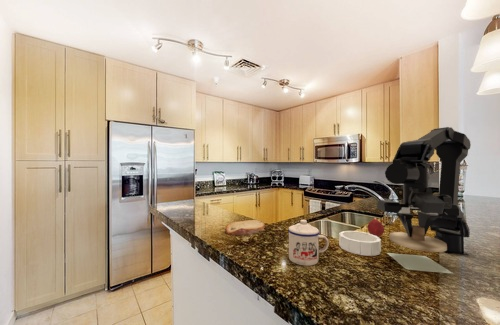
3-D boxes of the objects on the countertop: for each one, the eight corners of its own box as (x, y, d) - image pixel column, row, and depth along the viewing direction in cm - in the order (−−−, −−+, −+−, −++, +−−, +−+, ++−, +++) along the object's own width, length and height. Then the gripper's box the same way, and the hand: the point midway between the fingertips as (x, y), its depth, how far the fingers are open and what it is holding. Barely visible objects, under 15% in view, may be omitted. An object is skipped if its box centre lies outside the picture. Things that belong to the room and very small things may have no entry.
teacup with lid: (290, 266, 57) (290, 223, 57) (285, 252, 66) (286, 216, 66) (334, 267, 56) (334, 225, 57) (323, 254, 66) (323, 217, 66)
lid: (426, 237, 65) (426, 222, 65) (460, 254, 52) (460, 235, 52) (381, 234, 67) (381, 219, 67) (403, 249, 54) (403, 231, 55)
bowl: (371, 244, 75) (371, 232, 75) (387, 258, 63) (387, 243, 63) (336, 241, 77) (336, 229, 77) (345, 255, 65) (345, 240, 65)
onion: (387, 240, 80) (387, 219, 80) (372, 240, 80) (372, 219, 80) (378, 235, 85) (378, 216, 86) (364, 235, 86) (364, 216, 86)
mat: (425, 257, 64) (425, 256, 64) (453, 275, 53) (453, 273, 53) (386, 254, 66) (386, 252, 66) (406, 270, 55) (406, 269, 55)
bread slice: (263, 224, 101) (264, 217, 101) (268, 236, 83) (268, 227, 83) (227, 224, 100) (227, 216, 100) (223, 236, 82) (224, 227, 82)
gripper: (394, 184, 54) (394, 244, 54) (477, 186, 51) (479, 250, 50) (376, 182, 65) (376, 231, 65) (444, 183, 62) (444, 236, 61)
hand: (416, 237), depth 60 cm, fingers closed on lid, 3 cm apart
